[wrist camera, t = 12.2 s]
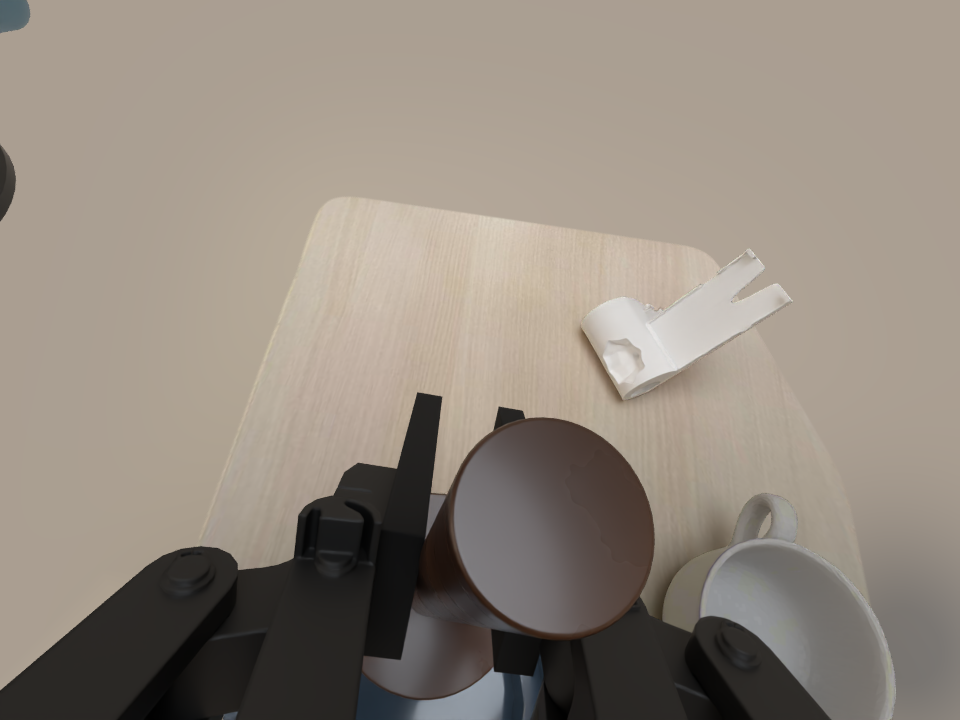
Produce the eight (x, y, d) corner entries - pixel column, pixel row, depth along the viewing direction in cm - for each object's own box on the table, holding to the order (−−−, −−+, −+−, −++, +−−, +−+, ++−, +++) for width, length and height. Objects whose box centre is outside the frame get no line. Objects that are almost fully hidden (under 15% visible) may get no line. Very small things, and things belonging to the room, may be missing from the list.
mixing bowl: (183, 780, 24) (127, 827, 19) (366, 499, 33) (362, 479, 27) (457, 971, 23) (477, 1077, 18) (579, 627, 31) (616, 631, 26)
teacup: (776, 767, 29) (898, 817, 22) (619, 679, 30) (688, 700, 23) (799, 553, 36) (897, 540, 29) (670, 486, 37) (735, 457, 30)
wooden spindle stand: (303, 630, 17) (-160, 740, 3) (400, 475, 20) (424, 148, 6) (460, 729, 16) (921, 1538, 2) (535, 553, 19) (921, 401, 5)
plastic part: (574, 331, 42) (630, 243, 32) (661, 306, 45) (737, 218, 35) (615, 404, 39) (690, 332, 29) (705, 372, 42) (802, 297, 32)
